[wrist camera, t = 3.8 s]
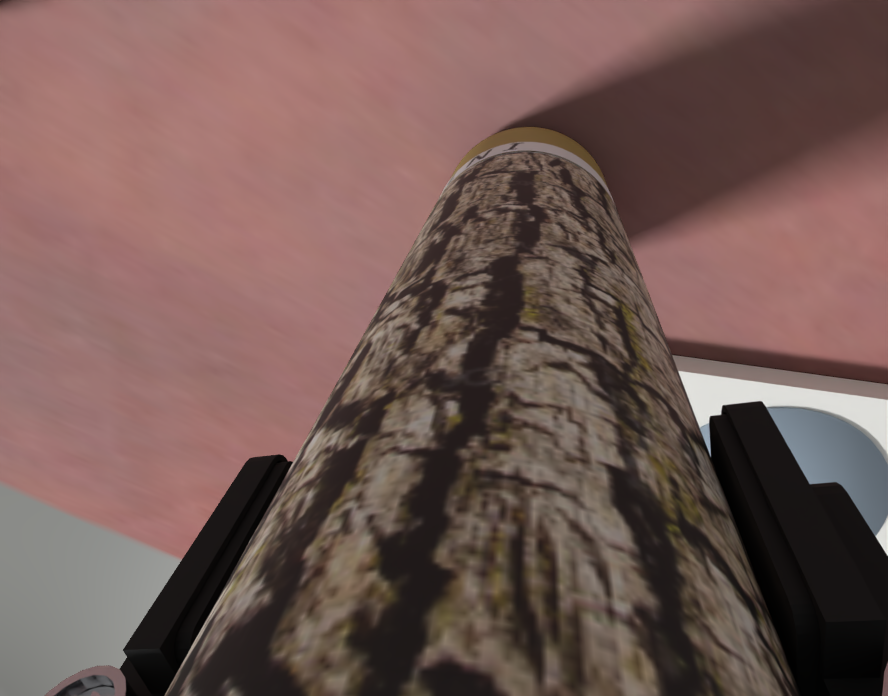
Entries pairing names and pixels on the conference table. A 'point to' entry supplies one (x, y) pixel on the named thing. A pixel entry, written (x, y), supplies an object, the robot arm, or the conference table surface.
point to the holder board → (808, 424)
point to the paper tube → (501, 480)
